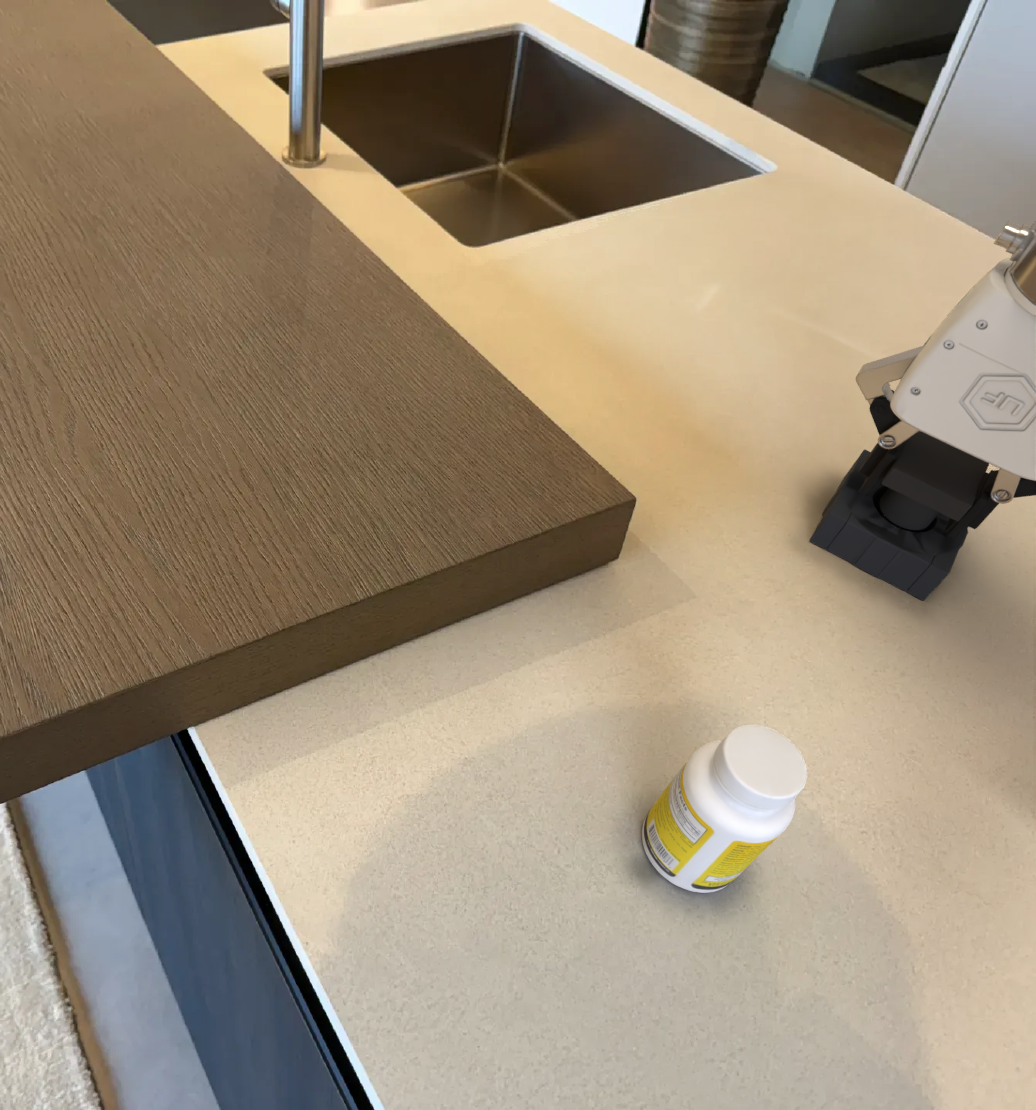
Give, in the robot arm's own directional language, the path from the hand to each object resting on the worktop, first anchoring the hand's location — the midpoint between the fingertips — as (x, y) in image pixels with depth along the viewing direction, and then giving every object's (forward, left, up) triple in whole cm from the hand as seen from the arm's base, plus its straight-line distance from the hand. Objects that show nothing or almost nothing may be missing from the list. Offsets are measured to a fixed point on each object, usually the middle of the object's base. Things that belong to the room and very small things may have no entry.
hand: (911, 502), depth 70 cm
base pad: (0, 0, -4) cm, 4 cm away
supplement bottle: (+2, +30, -4) cm, 31 cm away
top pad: (0, 0, -1) cm, 1 cm away
